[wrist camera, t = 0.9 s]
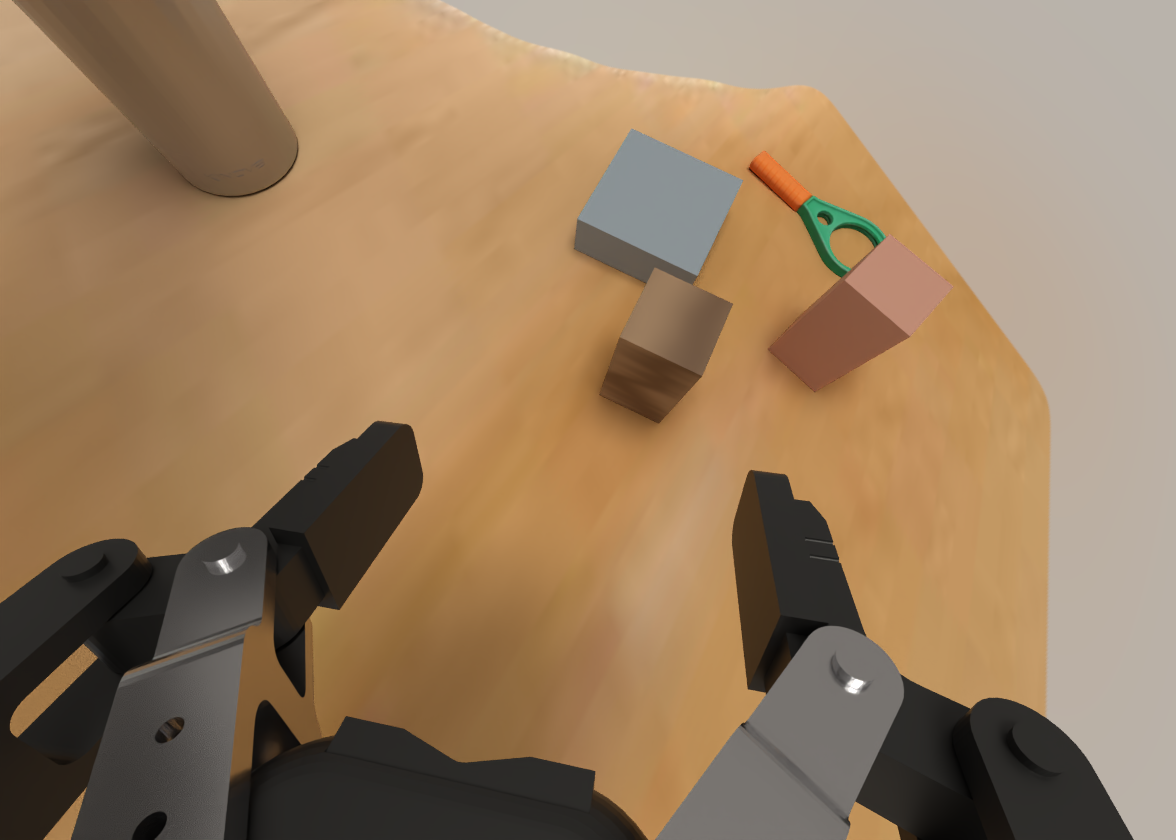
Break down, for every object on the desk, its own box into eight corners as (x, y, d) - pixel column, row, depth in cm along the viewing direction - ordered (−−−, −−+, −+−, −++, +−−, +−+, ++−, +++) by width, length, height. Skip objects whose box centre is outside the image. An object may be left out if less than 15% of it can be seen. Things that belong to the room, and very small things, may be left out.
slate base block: (574, 251, 39) (577, 218, 35) (623, 167, 41) (631, 128, 37) (681, 303, 38) (697, 275, 34) (724, 214, 41) (743, 180, 37)
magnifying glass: (896, 260, 41) (910, 248, 40) (856, 298, 40) (870, 288, 38) (772, 151, 43) (781, 136, 42) (730, 184, 42) (737, 169, 40)
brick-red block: (767, 349, 37) (844, 280, 28) (804, 311, 39) (889, 233, 29) (814, 391, 37) (910, 336, 27) (850, 352, 38) (953, 286, 28)
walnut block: (599, 394, 35) (619, 336, 25) (625, 341, 36) (654, 267, 27) (658, 423, 35) (702, 375, 25) (683, 368, 36) (733, 303, 27)
